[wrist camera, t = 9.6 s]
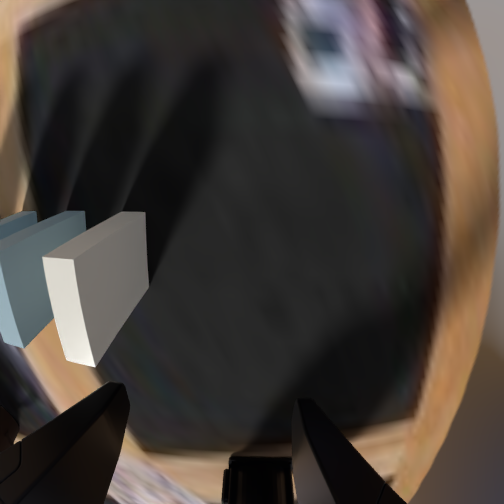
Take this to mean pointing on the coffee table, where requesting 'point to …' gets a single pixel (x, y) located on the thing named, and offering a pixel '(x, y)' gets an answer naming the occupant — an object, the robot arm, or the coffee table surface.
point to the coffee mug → (7, 429)
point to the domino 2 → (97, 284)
